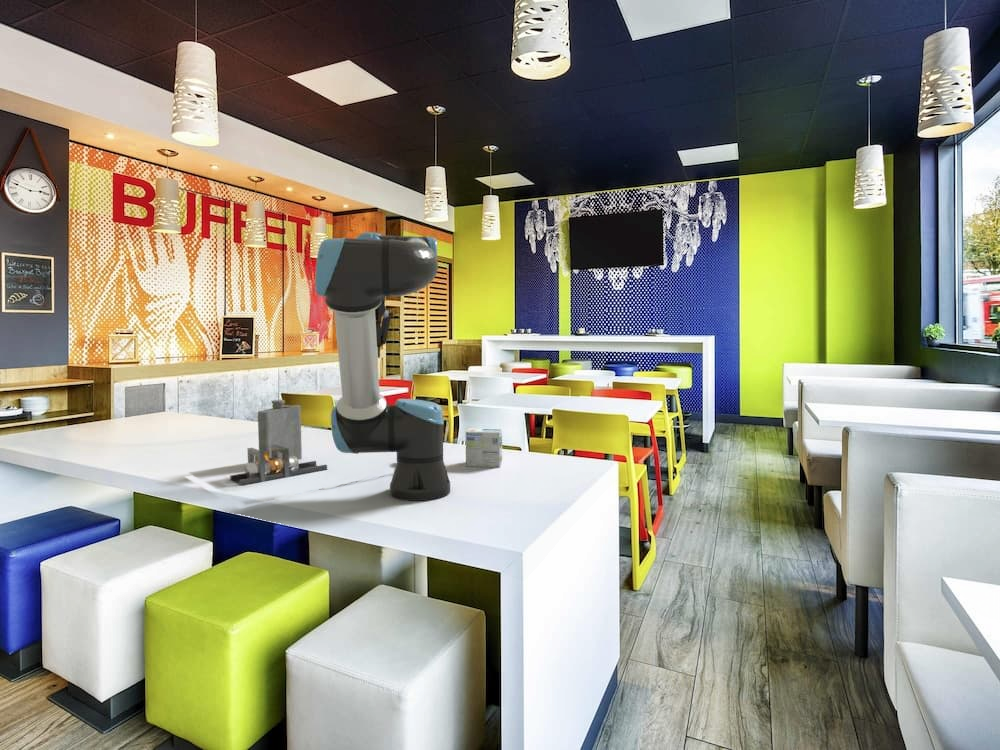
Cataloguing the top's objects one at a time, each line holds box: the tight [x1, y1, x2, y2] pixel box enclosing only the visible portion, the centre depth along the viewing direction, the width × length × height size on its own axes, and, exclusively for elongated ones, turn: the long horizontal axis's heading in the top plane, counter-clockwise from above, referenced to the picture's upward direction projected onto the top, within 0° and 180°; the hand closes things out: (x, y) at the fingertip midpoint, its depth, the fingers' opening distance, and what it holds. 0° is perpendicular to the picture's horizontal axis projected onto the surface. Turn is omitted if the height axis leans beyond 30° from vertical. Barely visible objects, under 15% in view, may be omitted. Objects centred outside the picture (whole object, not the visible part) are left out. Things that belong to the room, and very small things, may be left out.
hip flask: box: [257, 399, 303, 461], centre depth 167 cm, size 16×4×20 cm, turn 159°
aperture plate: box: [254, 451, 270, 462], centre depth 156 cm, size 4×1×7 cm, turn 136°
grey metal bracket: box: [246, 444, 290, 483], centre depth 152 cm, size 8×8×8 cm
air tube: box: [244, 456, 299, 479], centre depth 154 cm, size 13×4×5 cm, turn 135°
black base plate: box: [229, 460, 329, 487], centre depth 155 cm, size 24×8×2 cm, turn 135°
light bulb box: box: [465, 428, 503, 468], centre depth 171 cm, size 11×7×11 cm, turn 84°
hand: (373, 369), depth 165 cm, fingers closed
